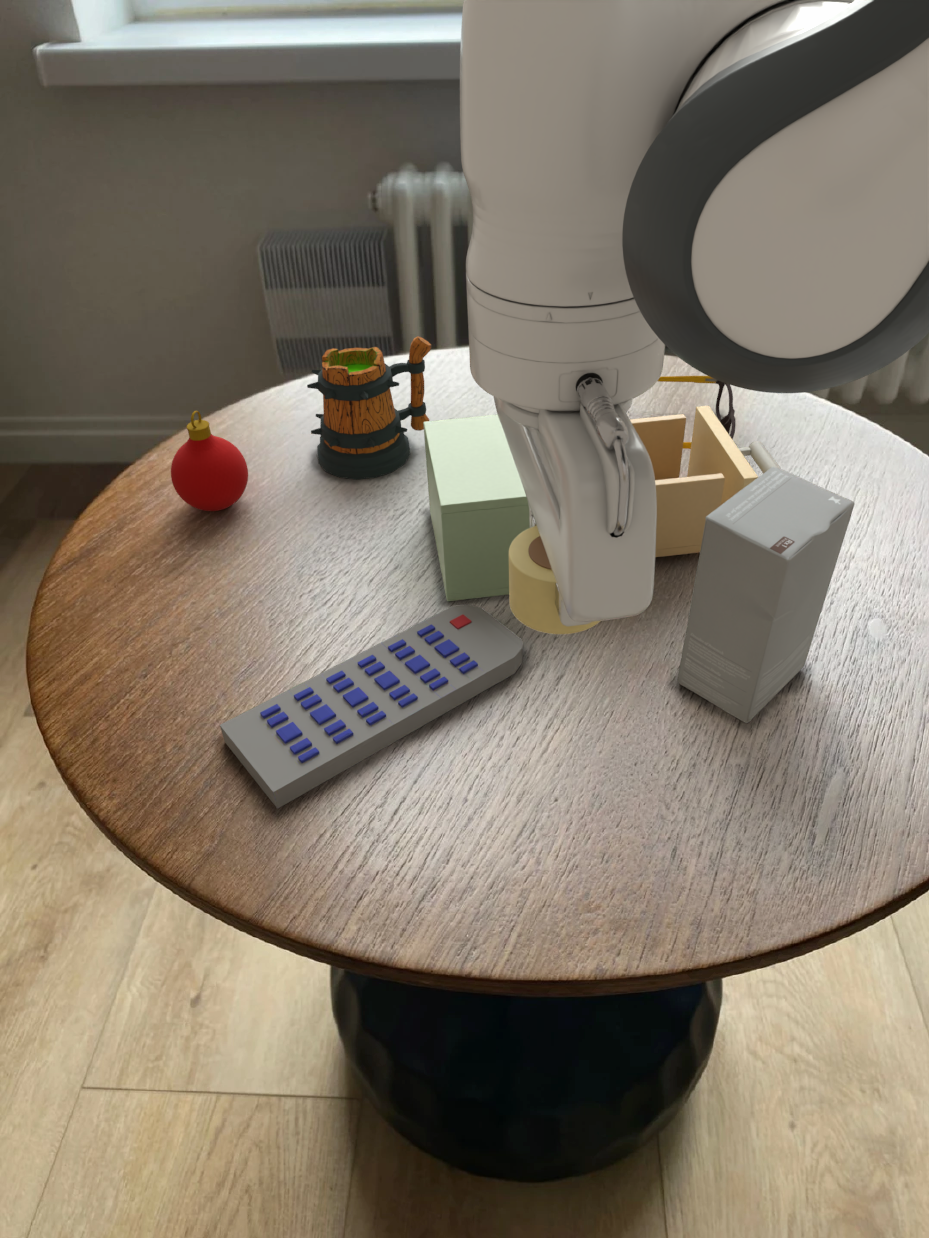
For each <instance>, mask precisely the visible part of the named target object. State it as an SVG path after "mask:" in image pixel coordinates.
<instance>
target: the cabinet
mask: <svg viewBox="0 0 929 1238" xmlns="http://www.w3.org/2000/svg"><path fill="white" fill-rule="evenodd" d="M423 425H424V430H423V436H424V437H423V438H424V451H425V464H426V476H427V489H428V492H427V493H428V503H429V513H430V514H429V515H430V521H431V525H432V529H433V530H432V531H433V536H434V540H435V545H436V551H437V556H438V562H439V568H440V572H441V577H442V583H443V588H444V593H445V598H446V602H455V601H463V600H472V599H480V598H490V597H498V596H507V595H509V548H510V545H511V543H512V541H513V540H514V539H515V538H516V537H517V536H518V535H519V534H520V533H522V532H523V531H525V530H527V529H529V528H530V522H529V505H528V500H527V497H526V494H525V491H524V488H523V485H522V483H521V480H520V477H519V474H518V471H517V468H516V466H515V463H514V460H513V457H512V454H511V451H510V448H509V446H508V443H507V440H506V437H505V434H504V431H503V429H502V426H501V423H500V421H499V418H498V414H497V413H496V414H489V415H488V414H486V415H478V416H477V415H476V416H467V417H458V418H448V419H447V418H445V419H440V420H439V419H438V420H429V421H426V422H423Z"/></svg>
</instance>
